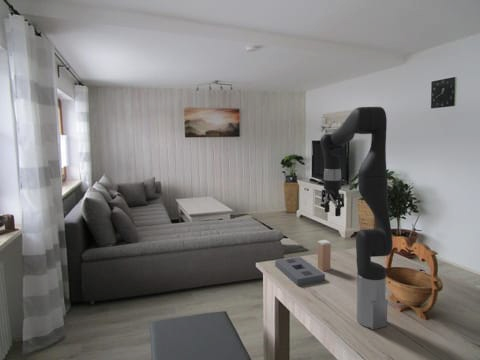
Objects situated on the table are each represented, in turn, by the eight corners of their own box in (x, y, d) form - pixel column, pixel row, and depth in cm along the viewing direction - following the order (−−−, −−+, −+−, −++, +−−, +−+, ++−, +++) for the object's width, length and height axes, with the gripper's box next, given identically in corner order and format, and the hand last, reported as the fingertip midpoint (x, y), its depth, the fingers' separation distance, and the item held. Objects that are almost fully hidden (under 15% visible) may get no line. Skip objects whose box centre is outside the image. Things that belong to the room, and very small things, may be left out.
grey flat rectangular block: (324, 280, 147) (324, 274, 146) (297, 285, 143) (297, 278, 142) (299, 261, 169) (299, 256, 169) (275, 265, 165) (275, 260, 165)
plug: (330, 269, 158) (330, 242, 157) (322, 271, 157) (322, 243, 155) (325, 266, 163) (325, 239, 161) (317, 267, 161) (317, 240, 159)
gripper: (349, 179, 138) (349, 216, 141) (330, 176, 152) (330, 210, 154) (334, 181, 136) (334, 218, 138) (316, 177, 150) (316, 211, 152)
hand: (332, 214), depth 146 cm, fingers open, 8 cm apart
